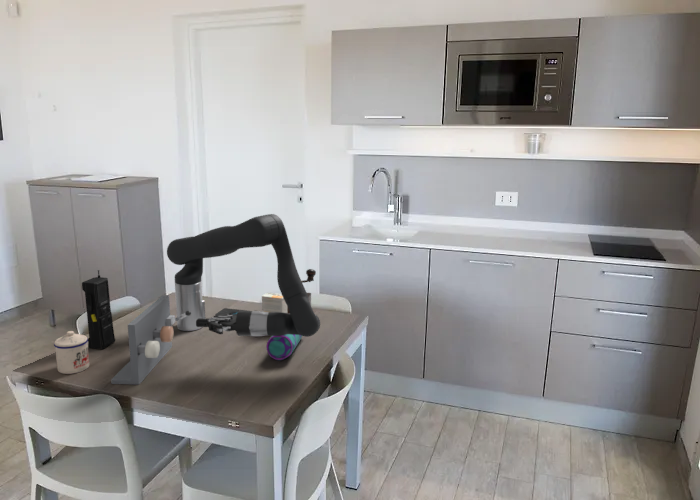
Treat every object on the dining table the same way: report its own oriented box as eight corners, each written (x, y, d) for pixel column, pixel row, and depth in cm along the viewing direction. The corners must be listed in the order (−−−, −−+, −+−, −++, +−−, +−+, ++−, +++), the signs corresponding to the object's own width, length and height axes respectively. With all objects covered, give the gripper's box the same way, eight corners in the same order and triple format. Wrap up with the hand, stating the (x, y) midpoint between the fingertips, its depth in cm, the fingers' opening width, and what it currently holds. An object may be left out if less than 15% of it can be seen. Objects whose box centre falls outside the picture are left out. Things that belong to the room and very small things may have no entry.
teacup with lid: (78, 375, 159) (74, 338, 156) (50, 373, 160) (45, 336, 157) (102, 358, 170) (98, 323, 168) (75, 356, 171) (71, 322, 169)
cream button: (160, 353, 157) (159, 338, 156) (153, 360, 152) (152, 344, 151) (136, 353, 157) (135, 337, 156) (129, 360, 152) (128, 344, 151)
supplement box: (288, 328, 198) (288, 294, 196) (282, 333, 194) (282, 298, 191) (268, 325, 201) (267, 291, 198) (262, 329, 197) (261, 295, 194)
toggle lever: (192, 313, 176) (189, 308, 176) (191, 315, 175) (188, 310, 174) (177, 321, 177) (174, 316, 177) (175, 323, 175) (172, 318, 175)
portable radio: (101, 351, 176) (95, 277, 170) (85, 349, 177) (78, 275, 171) (116, 341, 183) (110, 270, 178) (100, 340, 185) (94, 269, 179)
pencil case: (282, 336, 191) (281, 310, 189) (306, 338, 190) (306, 312, 188) (265, 361, 171) (264, 332, 169) (292, 363, 170) (292, 334, 168)
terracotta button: (173, 338, 168) (173, 323, 167) (168, 344, 163) (167, 329, 162) (151, 337, 168) (150, 323, 167) (145, 344, 163) (144, 329, 162)
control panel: (176, 346, 180) (173, 295, 176) (144, 384, 154) (140, 325, 150) (148, 346, 181) (144, 294, 177) (111, 383, 154) (106, 324, 150)
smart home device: (224, 307, 216) (271, 312, 211) (224, 311, 216) (271, 316, 212) (214, 314, 208) (262, 319, 203) (214, 318, 208) (263, 324, 204)
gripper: (257, 304, 169) (202, 303, 169) (248, 319, 156) (189, 318, 156) (258, 327, 171) (203, 326, 171) (249, 343, 158) (190, 342, 158)
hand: (196, 322), depth 164 cm, fingers closed
